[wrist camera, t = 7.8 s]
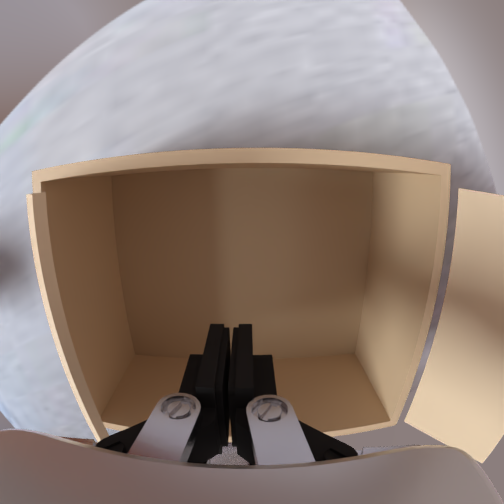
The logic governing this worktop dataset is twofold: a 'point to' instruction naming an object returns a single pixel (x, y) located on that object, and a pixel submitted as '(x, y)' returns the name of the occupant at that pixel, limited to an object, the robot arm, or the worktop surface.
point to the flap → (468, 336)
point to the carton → (251, 272)
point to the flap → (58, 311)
